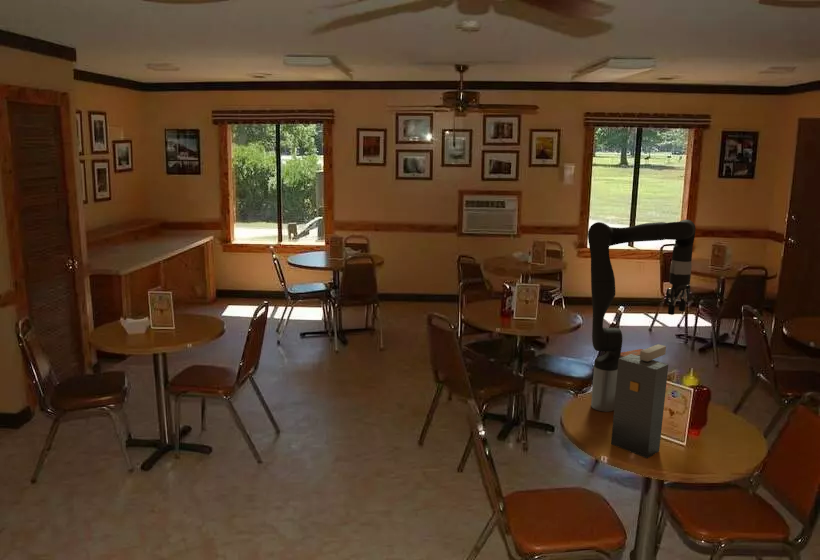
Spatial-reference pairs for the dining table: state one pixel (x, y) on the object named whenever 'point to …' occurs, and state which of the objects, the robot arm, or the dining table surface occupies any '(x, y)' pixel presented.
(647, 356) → the handle
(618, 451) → the dining table surface
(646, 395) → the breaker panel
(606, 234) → the robot arm
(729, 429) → the dining table surface
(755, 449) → the dining table surface
